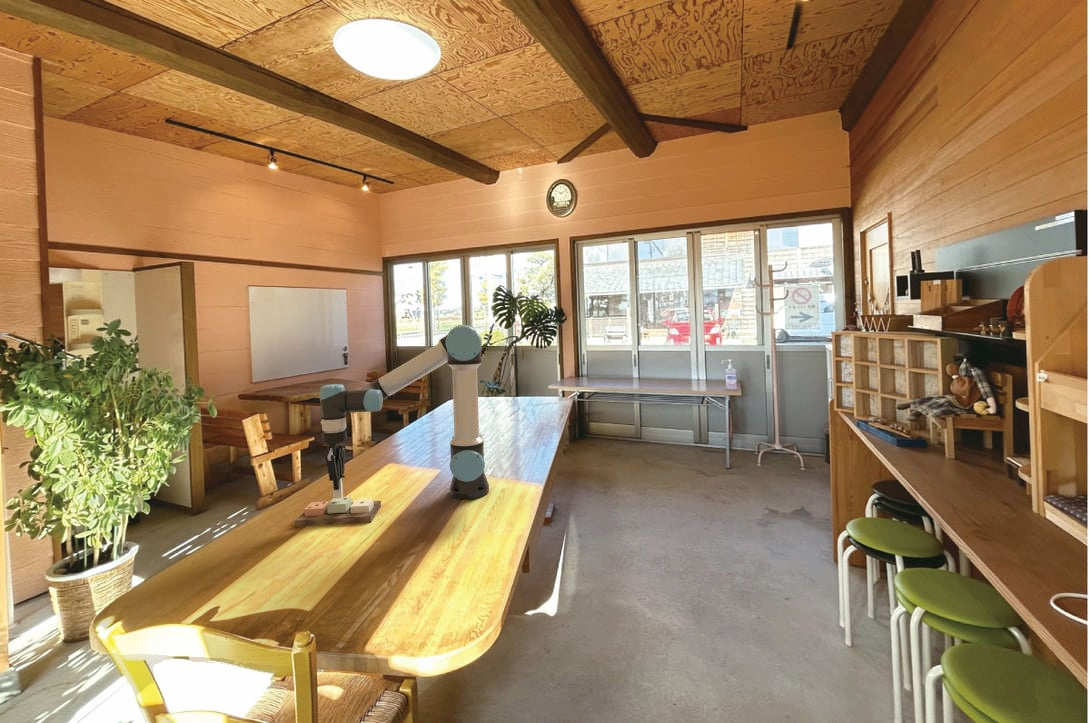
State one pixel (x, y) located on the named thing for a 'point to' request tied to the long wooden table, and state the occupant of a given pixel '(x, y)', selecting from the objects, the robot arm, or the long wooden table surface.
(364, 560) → the long wooden table surface
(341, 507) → the button two sage
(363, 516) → the brown wooden tray
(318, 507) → the button three terracotta
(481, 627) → the long wooden table surface
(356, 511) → the button one cream
